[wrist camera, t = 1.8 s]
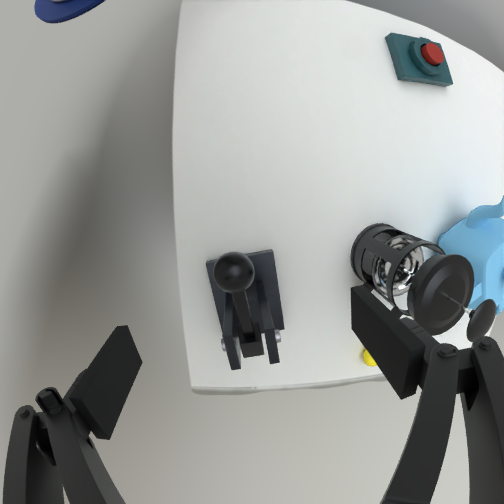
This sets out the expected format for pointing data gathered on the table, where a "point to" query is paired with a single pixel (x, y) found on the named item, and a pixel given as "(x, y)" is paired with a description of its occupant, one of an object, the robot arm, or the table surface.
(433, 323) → the french press
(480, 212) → the teapot
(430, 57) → the stop button
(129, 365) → the robot arm
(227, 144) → the table surface
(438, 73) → the button box
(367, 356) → the light bulb
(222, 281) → the switch lever
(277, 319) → the ball knob lever stand
